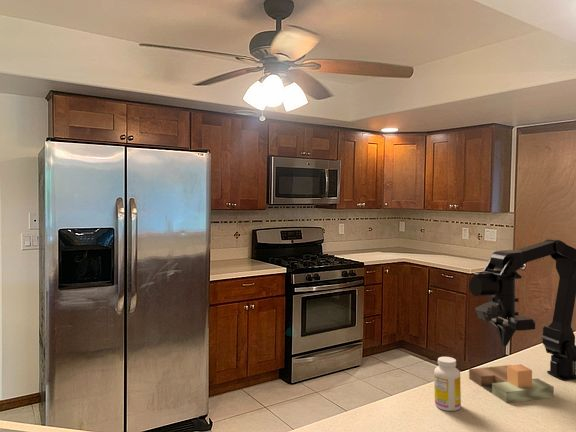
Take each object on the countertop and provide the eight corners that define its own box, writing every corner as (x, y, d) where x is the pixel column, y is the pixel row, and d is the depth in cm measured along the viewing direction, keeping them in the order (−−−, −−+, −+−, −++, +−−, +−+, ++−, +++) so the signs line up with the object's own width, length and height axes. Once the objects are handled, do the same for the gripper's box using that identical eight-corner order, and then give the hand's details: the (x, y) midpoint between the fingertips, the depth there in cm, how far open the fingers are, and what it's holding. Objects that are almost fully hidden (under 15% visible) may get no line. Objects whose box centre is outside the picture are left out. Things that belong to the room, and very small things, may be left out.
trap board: (511, 374, 140) (511, 364, 140) (553, 397, 123) (553, 386, 123) (469, 378, 137) (469, 369, 137) (506, 402, 120) (506, 392, 120)
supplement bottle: (456, 401, 122) (456, 355, 122) (464, 412, 115) (463, 364, 115) (432, 400, 123) (431, 354, 122) (437, 411, 116) (437, 363, 116)
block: (521, 379, 128) (521, 364, 128) (532, 385, 124) (532, 370, 124) (507, 380, 128) (507, 365, 127) (517, 387, 123) (517, 371, 123)
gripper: (461, 289, 139) (462, 338, 139) (501, 302, 121) (501, 358, 121) (493, 287, 141) (493, 335, 142) (536, 299, 123) (536, 355, 123)
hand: (504, 345), depth 132 cm, fingers closed
